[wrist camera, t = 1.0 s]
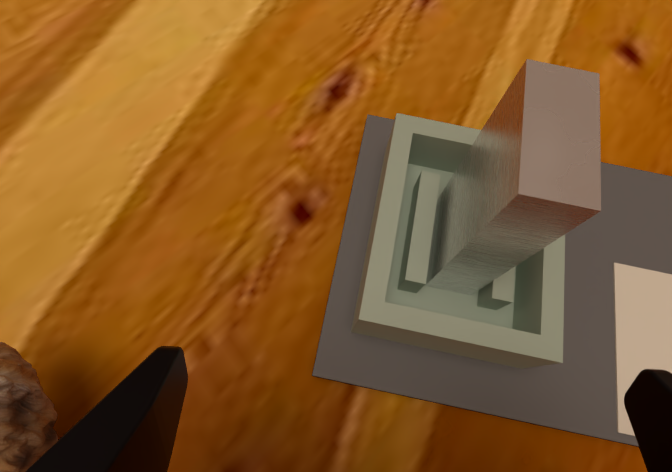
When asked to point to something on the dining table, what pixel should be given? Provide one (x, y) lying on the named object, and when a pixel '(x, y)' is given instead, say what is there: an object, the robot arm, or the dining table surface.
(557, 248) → the storage box
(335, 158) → the dining table surface
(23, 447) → the lion figurine
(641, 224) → the mat
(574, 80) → the rectangular steel block
